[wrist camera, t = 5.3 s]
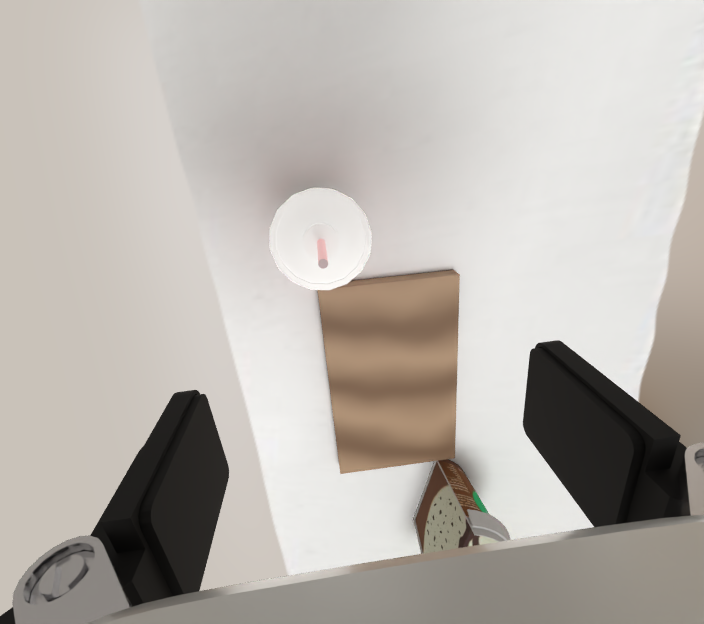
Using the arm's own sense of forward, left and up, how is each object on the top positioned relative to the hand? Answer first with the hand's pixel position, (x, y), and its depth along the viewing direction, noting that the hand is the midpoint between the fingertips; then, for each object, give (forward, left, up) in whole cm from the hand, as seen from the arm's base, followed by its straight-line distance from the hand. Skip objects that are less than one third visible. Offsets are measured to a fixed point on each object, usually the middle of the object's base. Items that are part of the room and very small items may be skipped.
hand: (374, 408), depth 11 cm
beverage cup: (-2, -1, -23) cm, 23 cm away
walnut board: (+13, +4, -22) cm, 26 cm away
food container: (+30, +10, -23) cm, 39 cm away
